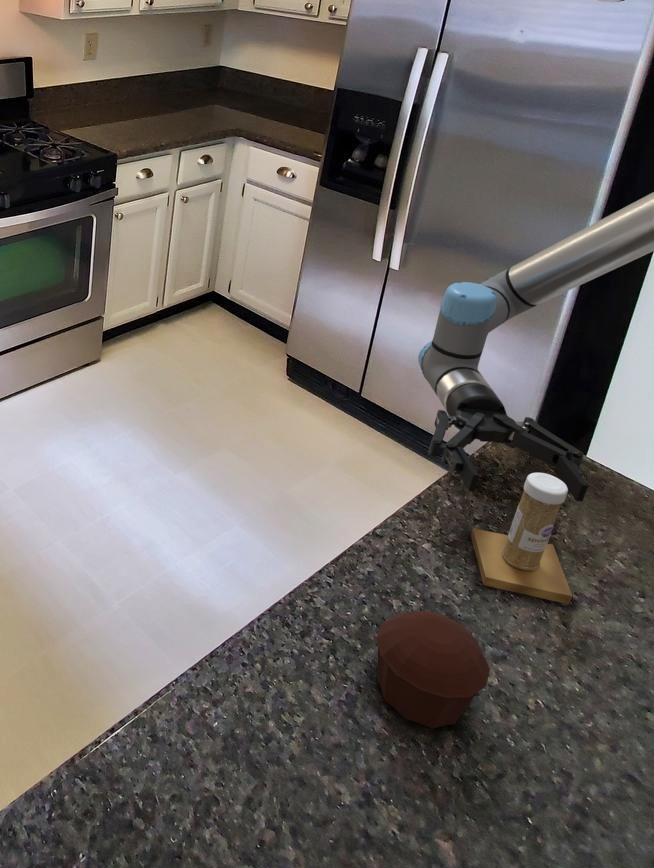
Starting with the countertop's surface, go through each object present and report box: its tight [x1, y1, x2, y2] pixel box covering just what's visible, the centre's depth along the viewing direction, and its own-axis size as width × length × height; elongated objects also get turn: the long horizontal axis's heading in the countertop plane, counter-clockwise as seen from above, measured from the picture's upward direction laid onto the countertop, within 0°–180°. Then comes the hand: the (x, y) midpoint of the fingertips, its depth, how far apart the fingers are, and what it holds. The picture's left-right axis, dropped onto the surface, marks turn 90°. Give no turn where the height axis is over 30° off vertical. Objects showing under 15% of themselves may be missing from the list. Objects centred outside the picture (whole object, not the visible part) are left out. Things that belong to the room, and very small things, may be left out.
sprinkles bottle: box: [502, 472, 569, 571], centre depth 107 cm, size 5×5×14 cm
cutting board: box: [470, 527, 573, 605], centre depth 110 cm, size 10×10×2 cm
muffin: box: [375, 610, 491, 729], centre depth 91 cm, size 12×11×10 cm
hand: (527, 488), depth 109 cm, fingers open, 13 cm apart
